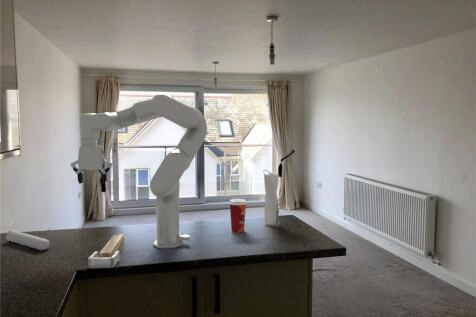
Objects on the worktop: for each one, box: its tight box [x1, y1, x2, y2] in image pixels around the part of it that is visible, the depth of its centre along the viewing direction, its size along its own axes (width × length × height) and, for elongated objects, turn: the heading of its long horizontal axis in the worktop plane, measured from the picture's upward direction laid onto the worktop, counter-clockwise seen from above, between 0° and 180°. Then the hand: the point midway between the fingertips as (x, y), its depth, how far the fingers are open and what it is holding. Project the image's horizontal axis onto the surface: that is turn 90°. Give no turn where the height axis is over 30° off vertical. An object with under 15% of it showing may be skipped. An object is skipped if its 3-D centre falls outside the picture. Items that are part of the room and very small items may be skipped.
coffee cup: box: [228, 198, 247, 234], centre depth 179 cm, size 8×8×15 cm
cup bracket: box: [87, 251, 121, 269], centre depth 139 cm, size 9×8×4 cm
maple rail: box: [98, 233, 125, 258], centre depth 149 cm, size 4×22×5 cm, turn 5°
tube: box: [5, 229, 51, 252], centre depth 160 cm, size 5×5×25 cm
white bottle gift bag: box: [263, 169, 281, 228], centre depth 189 cm, size 8×8×28 cm
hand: (92, 183), depth 160 cm, fingers open, 9 cm apart
